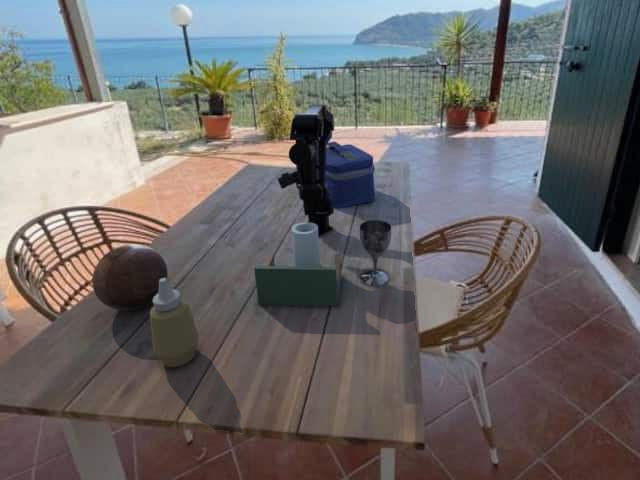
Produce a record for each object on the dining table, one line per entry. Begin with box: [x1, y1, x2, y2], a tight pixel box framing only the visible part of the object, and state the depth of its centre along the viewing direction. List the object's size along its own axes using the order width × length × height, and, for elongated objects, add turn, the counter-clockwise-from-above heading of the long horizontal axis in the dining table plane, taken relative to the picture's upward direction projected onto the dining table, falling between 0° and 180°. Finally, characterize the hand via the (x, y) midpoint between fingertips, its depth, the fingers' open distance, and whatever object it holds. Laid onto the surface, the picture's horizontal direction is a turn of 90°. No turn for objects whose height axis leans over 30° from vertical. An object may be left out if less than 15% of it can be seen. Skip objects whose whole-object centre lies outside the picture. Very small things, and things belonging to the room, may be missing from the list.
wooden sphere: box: [91, 243, 168, 311], centre depth 90 cm, size 15×15×15 cm
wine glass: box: [359, 219, 392, 287], centre depth 100 cm, size 8×8×15 cm
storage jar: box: [291, 221, 321, 267], centre depth 104 cm, size 7×7×13 cm
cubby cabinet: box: [254, 252, 343, 307], centre depth 96 cm, size 13×19×10 cm
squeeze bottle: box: [149, 278, 200, 368], centre depth 74 cm, size 8×8×18 cm
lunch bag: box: [325, 140, 376, 208], centre depth 157 cm, size 31×21×20 cm
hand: (309, 214), depth 110 cm, fingers open, 9 cm apart
